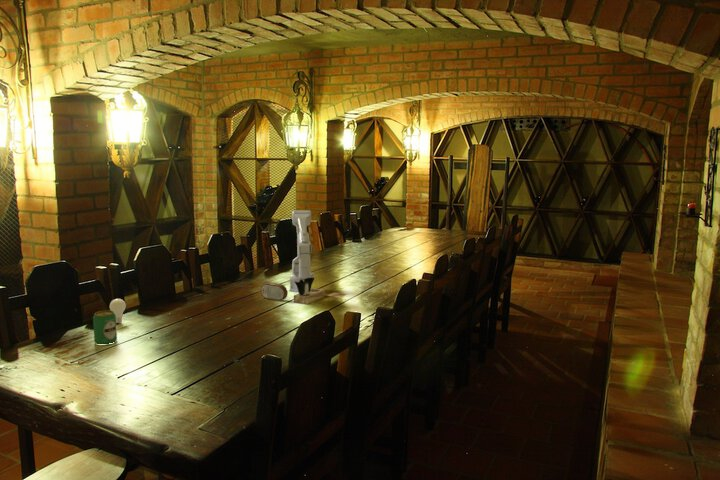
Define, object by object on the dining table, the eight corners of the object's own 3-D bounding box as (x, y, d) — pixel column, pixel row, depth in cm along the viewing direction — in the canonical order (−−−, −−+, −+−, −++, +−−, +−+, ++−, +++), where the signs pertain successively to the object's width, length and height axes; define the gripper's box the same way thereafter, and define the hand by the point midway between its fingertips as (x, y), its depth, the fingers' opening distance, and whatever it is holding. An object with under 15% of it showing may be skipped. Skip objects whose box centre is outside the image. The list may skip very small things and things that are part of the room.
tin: (287, 300, 279) (287, 284, 278) (284, 302, 276) (284, 285, 275) (263, 296, 285) (263, 281, 284) (259, 298, 282) (259, 282, 281)
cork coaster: (326, 296, 288) (326, 295, 288) (334, 293, 295) (334, 292, 295) (340, 298, 284) (340, 297, 284) (347, 294, 291) (347, 294, 291)
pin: (301, 302, 276) (301, 283, 274) (303, 300, 279) (303, 282, 277) (307, 302, 275) (307, 284, 274) (309, 301, 278) (309, 282, 277)
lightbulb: (111, 326, 234) (109, 301, 232) (110, 322, 239) (108, 297, 238) (127, 324, 237) (125, 299, 235) (126, 320, 242) (124, 296, 240)
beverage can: (102, 347, 209) (100, 317, 207) (90, 343, 213) (88, 313, 212) (121, 341, 216) (119, 312, 214) (109, 337, 220) (107, 308, 218)
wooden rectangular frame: (293, 302, 275) (293, 295, 275) (311, 294, 291) (312, 287, 291) (307, 304, 272) (307, 297, 271) (325, 296, 288) (325, 289, 287)
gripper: (303, 270, 266) (303, 297, 268) (318, 264, 279) (318, 290, 281) (291, 268, 269) (291, 295, 271) (306, 263, 282) (306, 289, 284)
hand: (304, 293), depth 277 cm, fingers open, 6 cm apart
